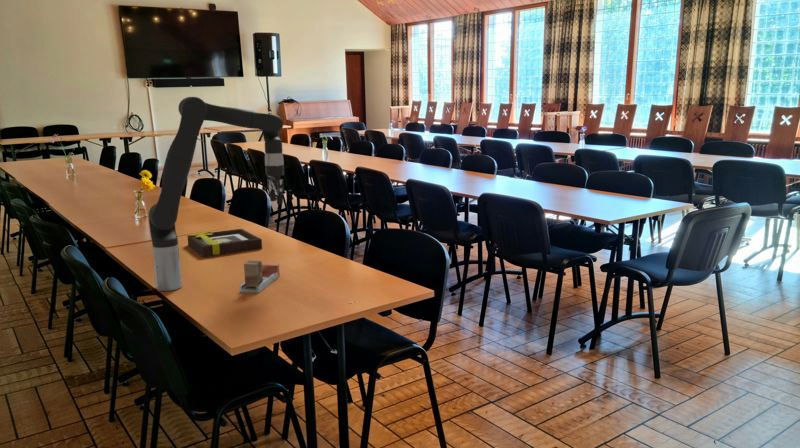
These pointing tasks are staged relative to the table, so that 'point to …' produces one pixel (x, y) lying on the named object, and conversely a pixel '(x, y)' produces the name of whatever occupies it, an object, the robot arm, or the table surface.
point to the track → (268, 274)
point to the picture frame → (223, 242)
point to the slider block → (253, 273)
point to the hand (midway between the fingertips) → (276, 202)
